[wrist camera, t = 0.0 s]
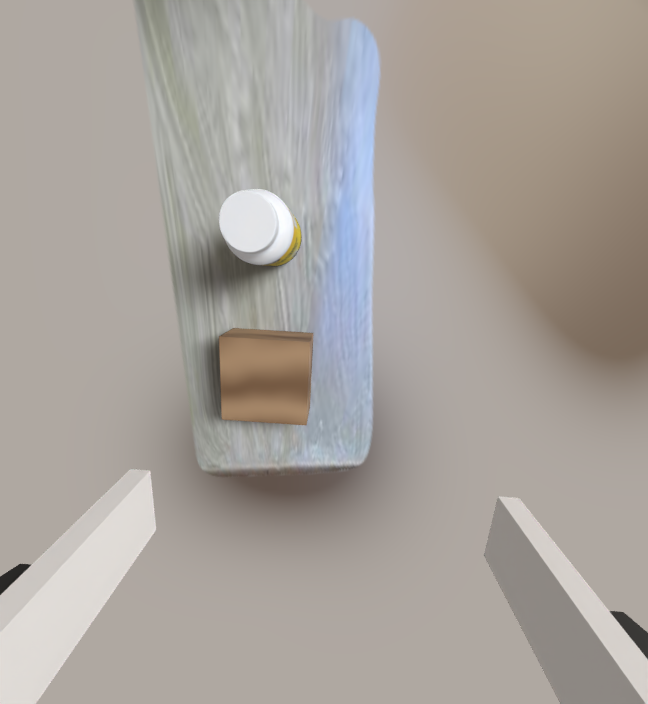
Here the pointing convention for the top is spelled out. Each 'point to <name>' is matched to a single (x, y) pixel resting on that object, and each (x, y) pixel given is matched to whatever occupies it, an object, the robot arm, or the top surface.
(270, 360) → the walnut block
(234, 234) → the pill bottle
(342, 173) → the top surface
